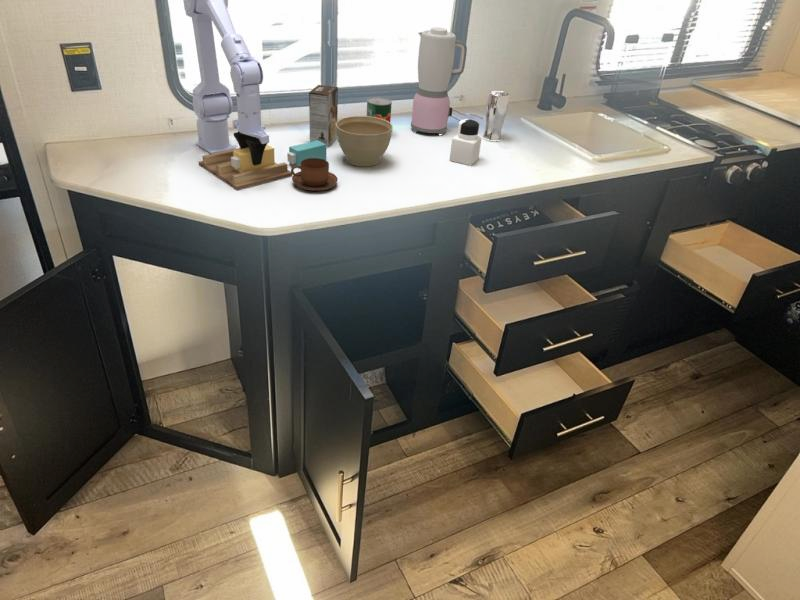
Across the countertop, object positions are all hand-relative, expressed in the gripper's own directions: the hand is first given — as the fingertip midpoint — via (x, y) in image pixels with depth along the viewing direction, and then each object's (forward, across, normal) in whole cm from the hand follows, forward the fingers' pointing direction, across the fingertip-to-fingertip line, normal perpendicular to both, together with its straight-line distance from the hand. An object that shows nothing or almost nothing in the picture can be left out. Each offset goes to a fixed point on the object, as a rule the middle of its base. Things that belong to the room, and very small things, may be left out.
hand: (252, 161), depth 161 cm
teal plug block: (+4, 0, -18) cm, 19 cm away
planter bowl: (+4, -8, -32) cm, 33 cm away
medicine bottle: (+4, -24, -59) cm, 64 cm away
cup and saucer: (+4, -14, -10) cm, 18 cm away
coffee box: (+4, +11, -32) cm, 34 cm away
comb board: (+4, +4, 0) cm, 6 cm away
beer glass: (+4, -16, -82) cm, 84 cm away
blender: (+4, 0, -70) cm, 70 cm away
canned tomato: (+4, +7, -51) cm, 52 cm away
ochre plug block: (+2, 0, -1) cm, 2 cm away
